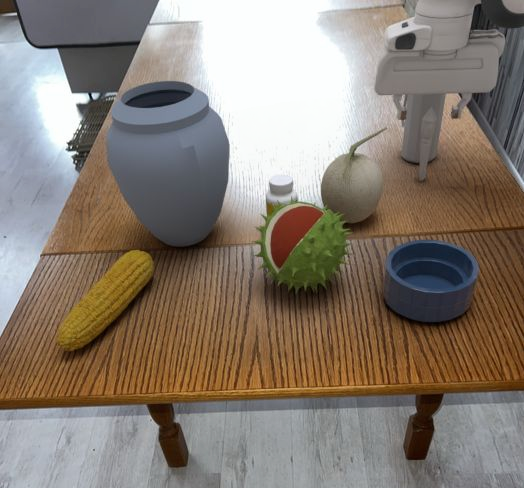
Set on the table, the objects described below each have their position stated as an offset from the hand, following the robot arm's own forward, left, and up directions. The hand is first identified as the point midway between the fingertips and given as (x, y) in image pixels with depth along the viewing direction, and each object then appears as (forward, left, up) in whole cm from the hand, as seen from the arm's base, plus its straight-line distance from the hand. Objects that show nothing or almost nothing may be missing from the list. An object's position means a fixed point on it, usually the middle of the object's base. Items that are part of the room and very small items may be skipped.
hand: (428, 118), depth 98 cm
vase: (+46, -9, -12) cm, 48 cm away
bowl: (+23, +28, -12) cm, 38 cm away
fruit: (+19, +4, -12) cm, 23 cm away
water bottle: (-6, -9, -12) cm, 16 cm away
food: (+64, +5, -12) cm, 65 cm away
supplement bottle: (+31, 0, -12) cm, 33 cm away
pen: (0, 0, -12) cm, 12 cm away
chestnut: (+36, +15, -12) cm, 41 cm away
